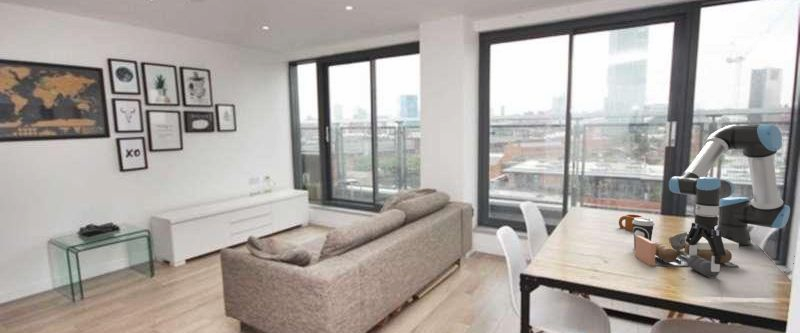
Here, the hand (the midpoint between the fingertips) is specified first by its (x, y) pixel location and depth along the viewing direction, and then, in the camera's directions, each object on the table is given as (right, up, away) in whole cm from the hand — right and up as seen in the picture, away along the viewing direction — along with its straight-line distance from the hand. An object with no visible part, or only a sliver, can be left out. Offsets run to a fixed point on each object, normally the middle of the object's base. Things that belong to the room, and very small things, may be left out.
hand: (703, 265), depth 163 cm
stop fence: (-14, -2, +16) cm, 22 cm away
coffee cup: (-5, 0, +34) cm, 34 cm away
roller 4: (+16, +2, +14) cm, 21 cm away
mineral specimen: (+10, -1, +29) cm, 31 cm away
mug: (+10, +3, +69) cm, 70 cm away
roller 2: (+9, +2, +14) cm, 17 cm away
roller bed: (+4, -2, +15) cm, 16 cm away
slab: (+14, +5, +14) cm, 20 cm away
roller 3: (0, -3, 0) cm, 3 cm away
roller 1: (-6, +2, +15) cm, 17 cm away
